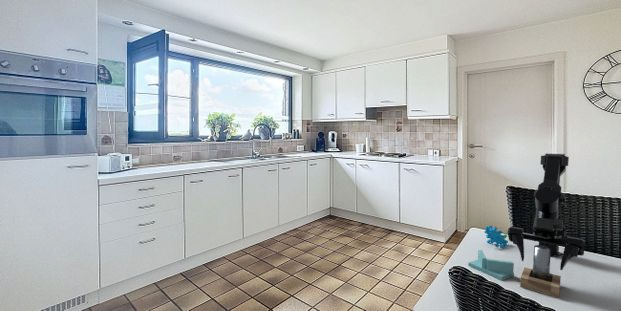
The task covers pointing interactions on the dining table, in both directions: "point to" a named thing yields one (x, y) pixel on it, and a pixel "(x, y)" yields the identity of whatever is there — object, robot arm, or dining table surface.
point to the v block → (493, 266)
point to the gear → (496, 237)
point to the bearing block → (540, 283)
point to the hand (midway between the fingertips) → (541, 264)
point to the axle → (541, 262)
